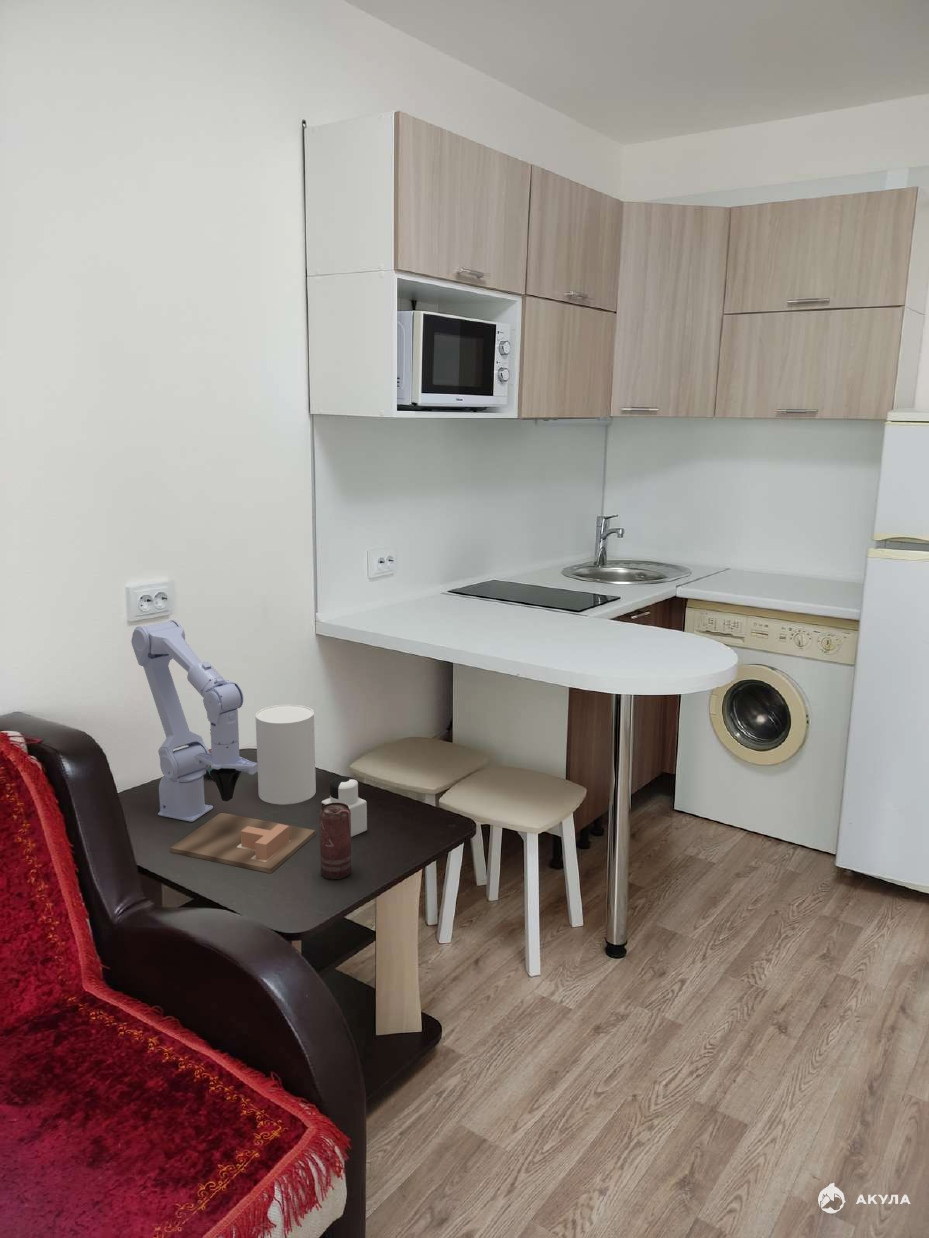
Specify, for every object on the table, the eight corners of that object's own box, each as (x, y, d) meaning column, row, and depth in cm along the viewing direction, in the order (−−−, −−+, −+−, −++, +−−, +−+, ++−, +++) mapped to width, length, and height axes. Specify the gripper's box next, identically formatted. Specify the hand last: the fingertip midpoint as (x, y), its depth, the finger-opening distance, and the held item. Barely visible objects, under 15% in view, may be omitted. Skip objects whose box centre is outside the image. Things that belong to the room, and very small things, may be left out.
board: (170, 852, 188) (170, 847, 188) (221, 816, 204) (221, 812, 204) (271, 873, 180) (270, 868, 180) (315, 834, 196) (315, 830, 196)
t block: (232, 853, 186) (231, 837, 185) (256, 834, 194) (256, 819, 193) (266, 860, 183) (265, 844, 182) (289, 841, 191) (288, 825, 190)
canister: (246, 795, 215) (243, 716, 211) (285, 776, 227) (283, 700, 222) (289, 809, 209) (286, 727, 204) (327, 789, 220) (325, 711, 215)
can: (347, 882, 177) (346, 816, 174) (316, 878, 178) (314, 812, 175) (356, 867, 183) (356, 803, 180) (327, 863, 184) (325, 799, 181)
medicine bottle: (321, 830, 198) (320, 779, 196) (346, 820, 203) (345, 770, 201) (342, 841, 194) (341, 789, 191) (367, 830, 199) (367, 779, 196)
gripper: (184, 741, 190) (187, 800, 194) (243, 751, 185) (245, 812, 189) (204, 730, 197) (207, 787, 200) (262, 740, 192) (264, 799, 195)
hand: (227, 799), depth 195 cm, fingers closed
